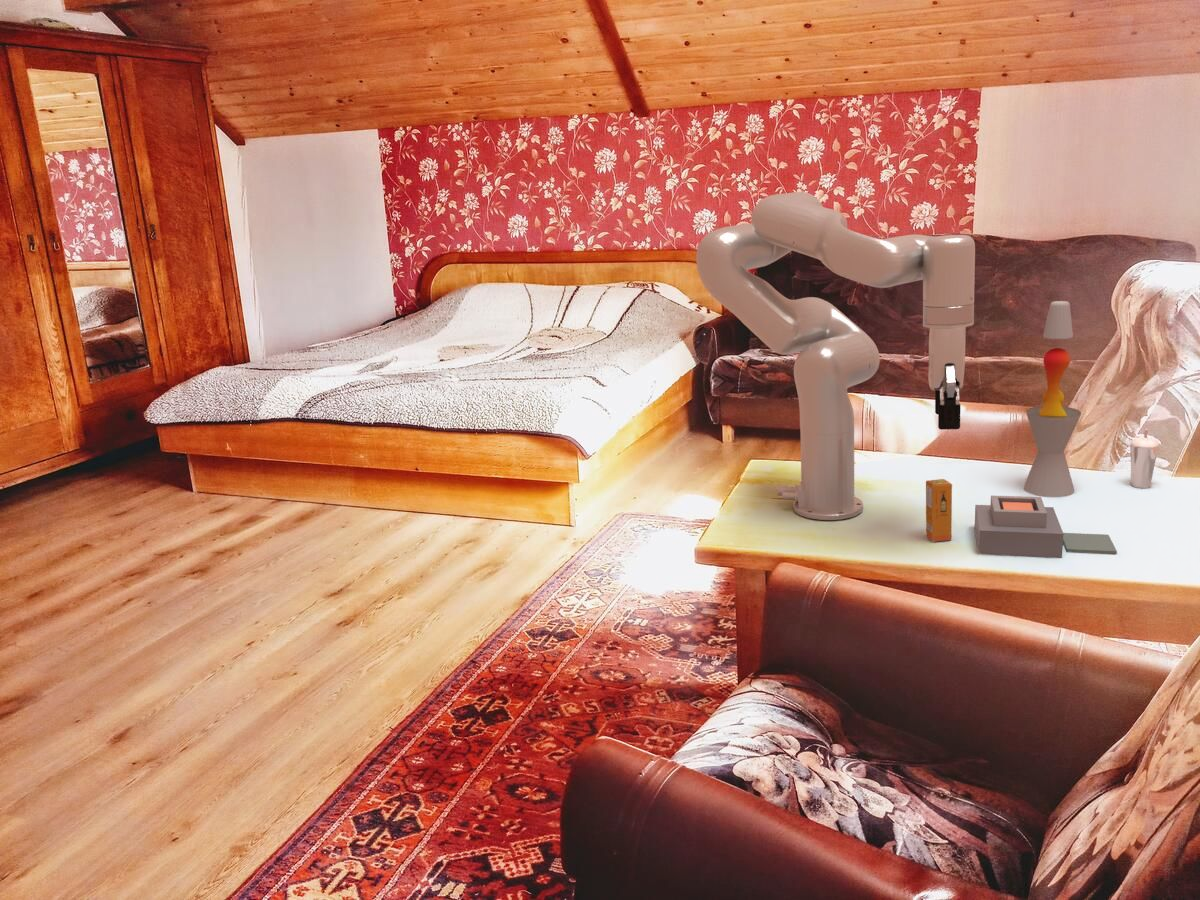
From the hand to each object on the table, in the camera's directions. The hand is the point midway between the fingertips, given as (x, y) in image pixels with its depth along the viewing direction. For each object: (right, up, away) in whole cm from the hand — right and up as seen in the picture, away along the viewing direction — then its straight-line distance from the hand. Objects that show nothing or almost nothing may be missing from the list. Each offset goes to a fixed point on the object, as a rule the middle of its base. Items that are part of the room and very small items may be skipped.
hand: (947, 421), depth 150 cm
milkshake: (+44, -11, +22) cm, 50 cm away
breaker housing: (+12, -20, +1) cm, 23 cm away
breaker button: (+12, -17, 0) cm, 20 cm away
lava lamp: (+28, -12, +23) cm, 38 cm away
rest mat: (+22, -20, -2) cm, 29 cm away
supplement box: (0, -20, +5) cm, 20 cm away
